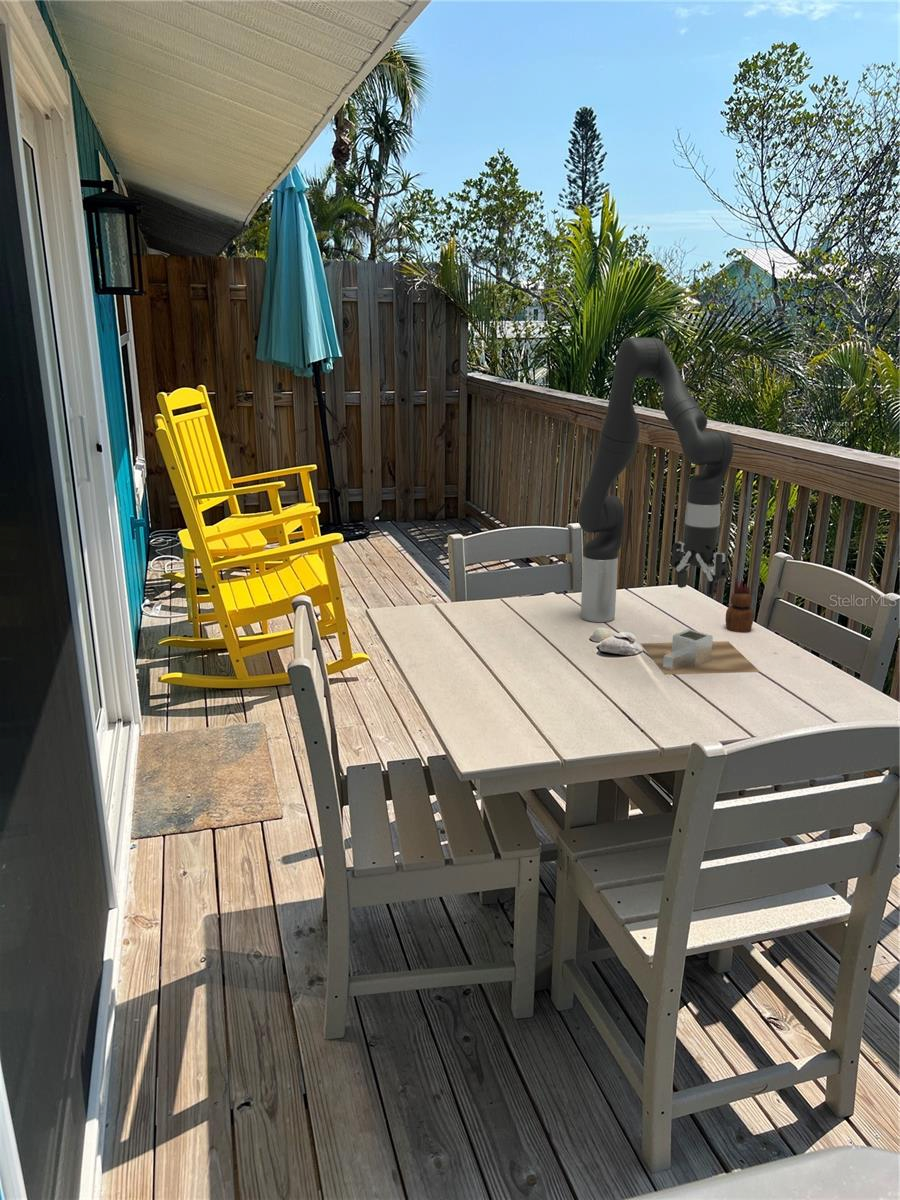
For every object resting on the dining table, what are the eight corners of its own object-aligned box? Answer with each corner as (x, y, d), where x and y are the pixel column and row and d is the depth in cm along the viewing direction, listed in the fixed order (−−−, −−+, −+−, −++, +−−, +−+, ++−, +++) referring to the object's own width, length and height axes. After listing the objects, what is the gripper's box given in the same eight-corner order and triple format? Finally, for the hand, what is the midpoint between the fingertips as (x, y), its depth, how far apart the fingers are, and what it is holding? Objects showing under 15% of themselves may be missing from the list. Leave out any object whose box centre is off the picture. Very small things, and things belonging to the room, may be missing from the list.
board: (640, 649, 218) (640, 643, 218) (727, 646, 220) (728, 641, 219) (663, 680, 199) (664, 674, 199) (759, 677, 201) (760, 671, 200)
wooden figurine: (723, 636, 227) (728, 579, 223) (725, 629, 232) (730, 574, 228) (750, 639, 225) (756, 582, 220) (752, 632, 230) (758, 576, 225)
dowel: (664, 663, 205) (665, 651, 204) (669, 663, 205) (670, 650, 204) (666, 665, 204) (667, 652, 203) (671, 664, 204) (672, 652, 203)
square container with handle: (687, 652, 212) (689, 629, 210) (710, 660, 207) (712, 635, 205) (655, 665, 204) (657, 641, 202) (679, 673, 199) (681, 648, 197)
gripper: (739, 526, 194) (732, 596, 199) (689, 514, 206) (683, 581, 211) (716, 530, 191) (709, 602, 195) (666, 518, 202) (661, 586, 207)
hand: (696, 591), depth 203 cm, fingers open, 8 cm apart
